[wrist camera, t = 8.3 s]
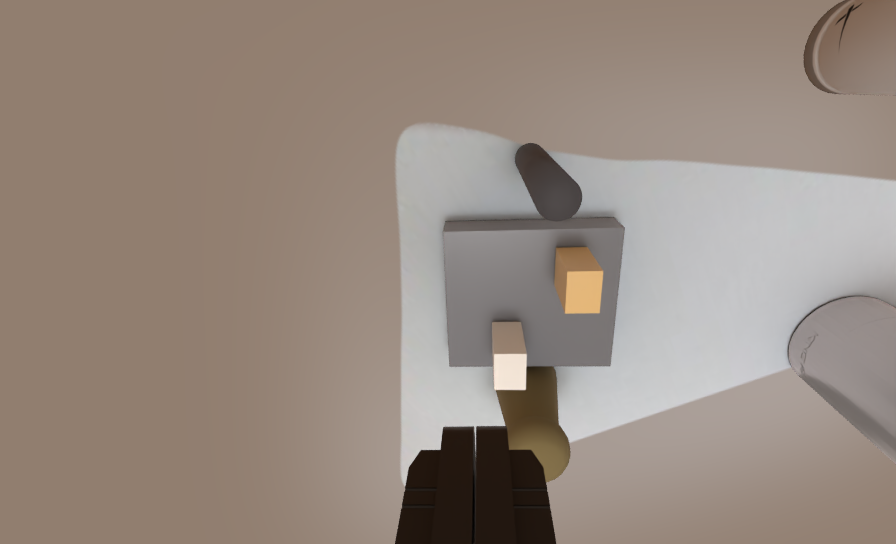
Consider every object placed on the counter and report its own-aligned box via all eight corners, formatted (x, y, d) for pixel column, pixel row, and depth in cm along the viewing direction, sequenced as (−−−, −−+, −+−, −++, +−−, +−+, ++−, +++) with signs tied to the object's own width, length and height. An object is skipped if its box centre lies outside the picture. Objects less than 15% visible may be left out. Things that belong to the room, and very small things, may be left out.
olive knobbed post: (545, 345, 43) (566, 425, 33) (564, 395, 45) (589, 485, 35) (484, 363, 44) (486, 446, 34) (505, 411, 46) (513, 503, 36)
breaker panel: (613, 217, 38) (624, 227, 36) (601, 347, 43) (610, 366, 40) (445, 221, 39) (443, 231, 37) (451, 348, 44) (449, 366, 41)
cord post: (546, 142, 36) (583, 175, 24) (544, 173, 37) (580, 220, 24) (515, 143, 37) (535, 176, 24) (514, 174, 38) (534, 222, 25)
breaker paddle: (587, 247, 36) (603, 271, 31) (584, 284, 37) (599, 313, 33) (556, 247, 36) (567, 271, 32) (554, 285, 37) (564, 313, 33)
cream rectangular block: (520, 321, 39) (526, 353, 34) (520, 354, 40) (525, 390, 35) (492, 321, 39) (493, 354, 34) (492, 354, 40) (494, 389, 36)
